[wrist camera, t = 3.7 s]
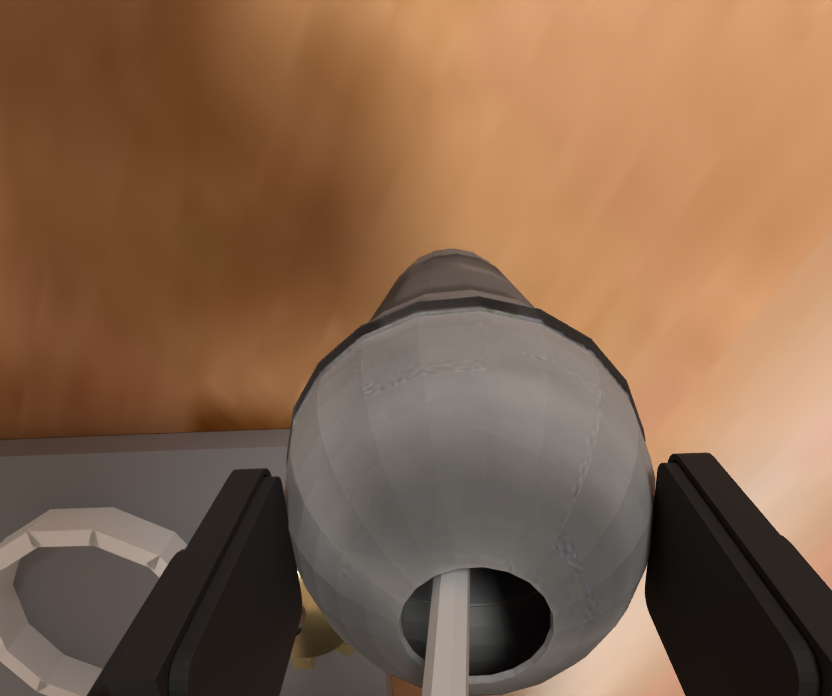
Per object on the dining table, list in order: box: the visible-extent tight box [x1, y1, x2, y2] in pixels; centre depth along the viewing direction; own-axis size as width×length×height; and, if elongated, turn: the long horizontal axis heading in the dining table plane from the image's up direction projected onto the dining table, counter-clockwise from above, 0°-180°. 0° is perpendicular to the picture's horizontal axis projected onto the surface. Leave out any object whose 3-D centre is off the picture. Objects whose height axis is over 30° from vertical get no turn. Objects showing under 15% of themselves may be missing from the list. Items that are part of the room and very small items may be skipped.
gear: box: [290, 570, 355, 669], centre depth 25 cm, size 7×7×2 cm
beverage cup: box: [284, 249, 655, 696], centre depth 13 cm, size 7×7×20 cm
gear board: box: [0, 429, 393, 696], centre depth 26 cm, size 16×25×3 cm, turn 94°
